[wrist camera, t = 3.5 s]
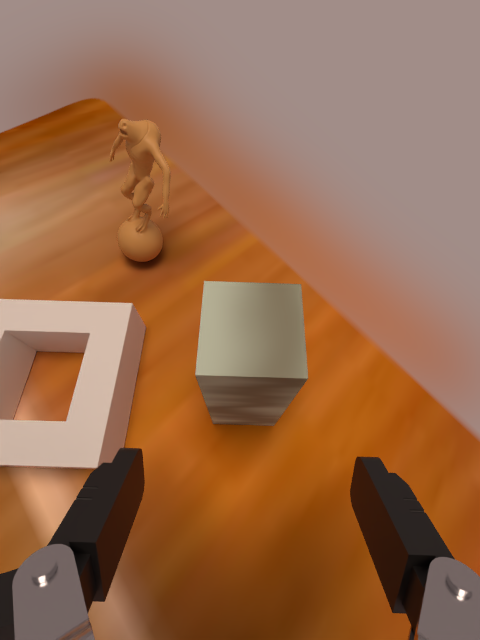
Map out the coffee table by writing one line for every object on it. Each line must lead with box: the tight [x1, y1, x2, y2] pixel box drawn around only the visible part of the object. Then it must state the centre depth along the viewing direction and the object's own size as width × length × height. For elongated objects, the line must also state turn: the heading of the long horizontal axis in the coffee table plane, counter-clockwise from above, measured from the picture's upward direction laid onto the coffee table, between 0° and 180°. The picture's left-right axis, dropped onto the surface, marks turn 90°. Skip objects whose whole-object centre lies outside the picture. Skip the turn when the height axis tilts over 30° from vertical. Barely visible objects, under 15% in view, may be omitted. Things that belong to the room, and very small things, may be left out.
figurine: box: [110, 119, 171, 262], centre depth 25 cm, size 8×6×12 cm
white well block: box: [0, 299, 146, 469], centre depth 22 cm, size 11×11×4 cm
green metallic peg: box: [195, 281, 308, 426], centre depth 19 cm, size 4×4×12 cm
